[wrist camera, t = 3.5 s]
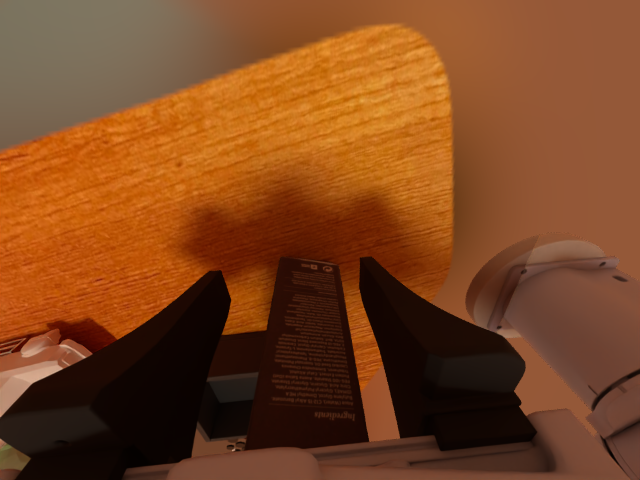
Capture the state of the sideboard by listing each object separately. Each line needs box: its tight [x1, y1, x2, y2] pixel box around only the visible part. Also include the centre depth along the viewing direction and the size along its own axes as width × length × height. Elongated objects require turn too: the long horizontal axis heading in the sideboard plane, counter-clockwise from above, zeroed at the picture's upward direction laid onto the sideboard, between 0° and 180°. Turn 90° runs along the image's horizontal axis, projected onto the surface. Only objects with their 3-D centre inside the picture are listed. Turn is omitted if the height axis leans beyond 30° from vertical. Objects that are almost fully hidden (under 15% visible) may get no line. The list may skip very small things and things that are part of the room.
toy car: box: [0, 329, 92, 449], centre depth 17 cm, size 6×12×7 cm, turn 105°
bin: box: [197, 332, 266, 442], centre depth 21 cm, size 10×10×4 cm
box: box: [244, 257, 369, 451], centre depth 13 cm, size 6×4×12 cm
